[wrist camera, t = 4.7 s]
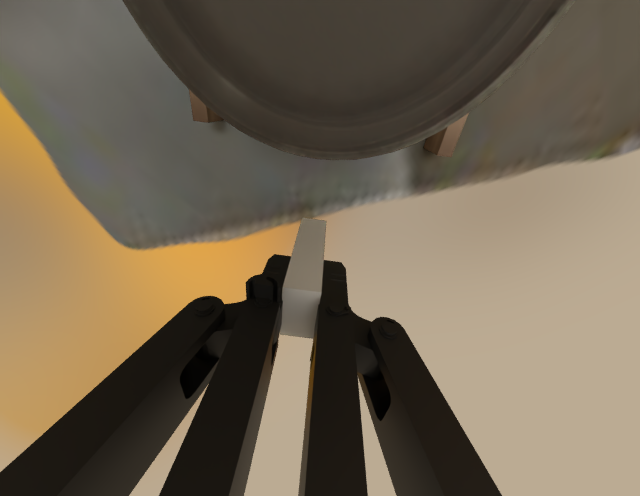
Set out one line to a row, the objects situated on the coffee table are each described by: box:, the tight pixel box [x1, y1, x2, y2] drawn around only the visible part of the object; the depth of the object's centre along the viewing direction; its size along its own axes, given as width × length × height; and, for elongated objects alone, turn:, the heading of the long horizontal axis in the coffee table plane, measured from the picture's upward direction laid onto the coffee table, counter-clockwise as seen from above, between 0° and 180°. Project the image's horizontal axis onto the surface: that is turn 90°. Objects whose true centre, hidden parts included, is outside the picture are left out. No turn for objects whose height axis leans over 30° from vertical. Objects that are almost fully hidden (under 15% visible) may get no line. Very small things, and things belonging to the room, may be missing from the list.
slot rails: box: [189, 90, 469, 157], centre depth 14 cm, size 14×18×3 cm
